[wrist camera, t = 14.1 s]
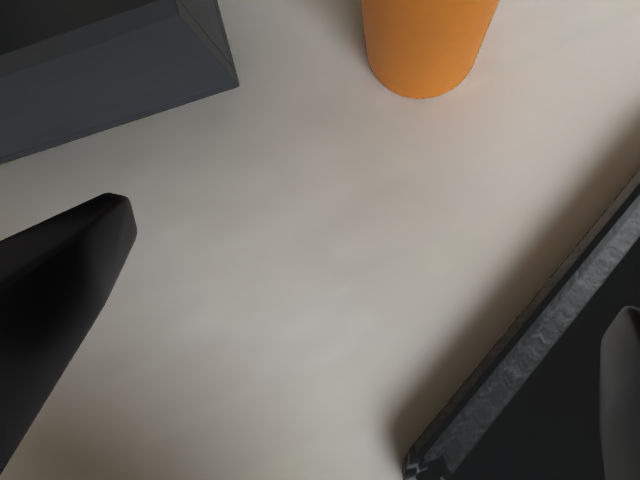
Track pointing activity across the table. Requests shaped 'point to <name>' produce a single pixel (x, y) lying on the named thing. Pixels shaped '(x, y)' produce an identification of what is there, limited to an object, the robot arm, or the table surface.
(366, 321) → the table surface
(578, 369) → the phone
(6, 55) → the organizer
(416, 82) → the glue stick
